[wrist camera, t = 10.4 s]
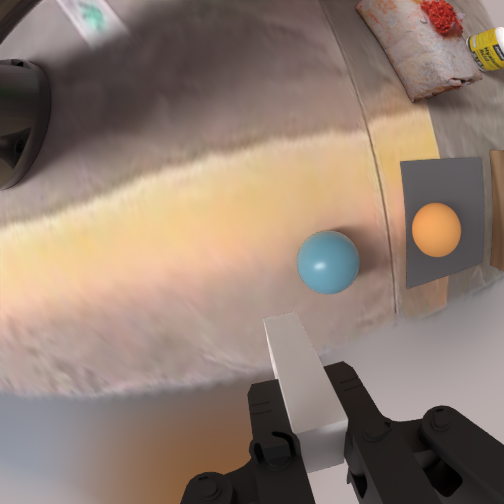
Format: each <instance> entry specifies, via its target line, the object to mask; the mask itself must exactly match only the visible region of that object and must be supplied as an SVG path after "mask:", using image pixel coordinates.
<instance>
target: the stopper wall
mask: <svg viewBox="0 0 504 504" xmlns="http://www.w3.org/2000/svg"><path fill="white" fill-rule="evenodd" d="M489 152H490V161H491V173H492V190H493V233H492V250H491V262H490V265H492V266H494V267H496V268H498V269H500V270H502V271H504V150H489Z"/></svg>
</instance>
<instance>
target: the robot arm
mask: <svg viewBox="0 0 504 504" xmlns="http://www.w3.org/2000/svg"><path fill="white" fill-rule="evenodd" d="M41 1H42V0H0V45H1V43H2V42H3V41H4V40H5V39H6V37H7V36H8V35H9V34H10V33H11V32H12V30H13V29H14V28H15V27H16V26H17V25H18V24H19V23H20V22H21V21H22V20H23V19H24V18H25V17H26V16H27V15H28V14H29V13H30V12H31V11H32V10H33V9H34V8H35V7H36V6H37V5H38V4H39V3H40V2H41ZM50 107H51V93H50V86H49V82H48V79H47V77H46V75H45V73H44V72H43V71H42V69H41V68H39V67H38V66H36V65H34V64H32V63H30V62H28V61H26V60H22V59H8V60H0V190H4V189H7V188H9V187H11V186H13V185H14V184H15V183H17V182H18V181H19V180H20V179H21V178H22V177H23V176H24V175H25V173H26V172H27V171H28V169H29V168H30V166H31V165H32V163H33V162H34V160H35V158H36V156H37V154H38V152H39V150H40V147H41V145H42V142H43V140H44V137H45V133H46V130H47V126H48V121H49V116H50ZM263 320H264V325H265V330H266V335H267V341H268V346H269V351H270V356H271V361H272V366H273V370H274V374H275V377H276V379H275V380H271V381H265V382H260V383H255V384H252V385H251V388H250V390H249V392H248V403H249V411H250V419H251V426H252V434H253V440H252V441H251V443H250V446H249V453H250V455H251V457H252V458H251V459H250V461H249V462H248V463H247V464H246V465H244V466H243V467H241V468H239V469H237V470H235V471H232V472H230V473H227V474H225V475H223V474H220V473H216V472H204V473H202V474H199V475H196V476H195V477H194V478H192V479H191V480H190V481H189V483H188V485H187V486H186V489H185V492H184V495H183V497H182V501H181V503H180V504H315V500H314V497H313V493H312V490H311V487H310V483H309V479H308V476H307V473H310V472H314V471H318V470H322V469H325V468H329V467H332V466H335V465H338V464H342V463H344V457H345V459H346V461H347V464H348V466H349V468H348V474H347V484H349V483H350V482H351V483H352V486H353V488H354V491H355V494H356V496H357V499H358V501H359V504H504V445H503V444H502V443H500V442H499V441H498V440H496V439H495V438H494V437H492V436H491V435H489V434H488V433H487V432H485V431H484V430H483V429H481V428H480V427H478V426H477V425H476V424H474V423H473V422H472V421H470V420H469V419H468V418H466V417H465V416H463V415H462V414H461V413H459V412H458V411H457V410H455V409H453V408H451V407H449V406H436V407H433V408H432V409H430V410H428V411H427V412H426V413H425V415H424V416H423V418H422V419H417V420H411V421H402V422H397V421H392V420H391V419H389V418H386V417H384V416H383V415H382V414H381V413H380V411H379V410H378V408H377V407H376V405H375V403H374V401H373V400H372V398H371V397H370V395H369V393H368V392H367V390H366V388H365V387H364V386H363V383H362V382H361V380H360V379H359V378H358V375H357V374H356V372H355V370H354V369H353V367H351V366H350V365H348V364H347V363H345V362H343V361H342V362H339V363H335V364H332V365H328V366H324V367H323V366H322V364H321V362H320V360H319V358H318V356H317V354H316V351H315V349H314V347H313V345H312V343H311V341H310V339H309V337H308V335H307V333H306V331H305V329H304V327H303V325H302V323H301V321H300V319H299V317H298V315H297V313H296V311H295V312H290V313H286V314H282V315H277V316H272V317H268V318H263Z"/></svg>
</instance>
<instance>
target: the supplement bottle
mask: <svg viewBox="0 0 504 504" xmlns="http://www.w3.org/2000/svg"><path fill="white" fill-rule="evenodd" d="M466 44H467V46H468V48H469V50H470V52H471V54H472V56H473V58H474V60H475V63H476V65H477V67H478V68H479V69H480V70H482V71H485V72H486V71H492V70H496V69H501V68H504V28H503V27H497V28H494V29H491V30H488V31H485V32H483V33H480V34H477V35H474V36H471V37H469V38H467V40H466Z"/></svg>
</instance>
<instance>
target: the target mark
mask: <svg viewBox="0 0 504 504" xmlns="http://www.w3.org/2000/svg"><path fill="white" fill-rule="evenodd" d="M400 165H401V173H402V182H403V192H404V204H405V218H406V242H407V281H406V289H409V288H412V287H415V286H418V285H421V284H424V283H427V282H430V281H433V280H436V279H439V278H442V277H445V276H447V275H450V274H453V273H456V272H458V271H461V270H464V269H466V268H469V267H472V266H474V265H477V264H479V263H482V258H483V244H484V186H483V171H482V160H481V158H450V159H431V160H416V161H403V162H400ZM430 203H442V204H445V205H447V206H448V207H450V208H451V209H452V210H453V211H454V212H455V213H456V215H457V216H458V219H459V221H460V225H461V236H460V240H459V243H458V245H457V246H456V248H455V249H454V250H453V251H452V252H451V253H449V254H448V255H445V256H442V257H432V256H429V255H427V254H425V253H423V252H422V251H421V250H420V249H419V248H418V246H417V245H416V243H415V241H414V238H413V234H412V224H413V220H414V218H415V215H416V214H417V212H418V211H419V210H420V209H421V208H422V207H423V206H425V205H427V204H430Z"/></svg>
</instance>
